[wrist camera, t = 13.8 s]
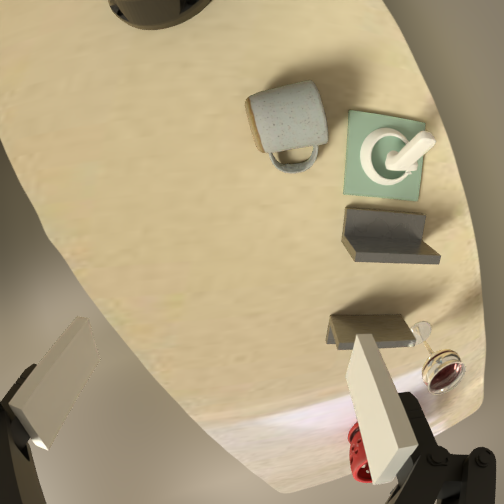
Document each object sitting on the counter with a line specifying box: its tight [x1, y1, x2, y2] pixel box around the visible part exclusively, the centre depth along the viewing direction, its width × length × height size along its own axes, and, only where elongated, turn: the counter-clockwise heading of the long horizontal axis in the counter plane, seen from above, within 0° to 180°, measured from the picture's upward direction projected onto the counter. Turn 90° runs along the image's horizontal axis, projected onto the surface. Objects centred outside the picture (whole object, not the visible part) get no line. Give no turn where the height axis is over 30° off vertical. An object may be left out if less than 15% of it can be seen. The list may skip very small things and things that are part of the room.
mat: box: [343, 110, 425, 201], centre depth 37 cm, size 11×11×1 cm
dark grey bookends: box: [326, 207, 441, 350], centre depth 41 cm, size 21×12×7 cm, turn 178°
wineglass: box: [410, 322, 466, 395], centre depth 42 cm, size 7×7×12 cm
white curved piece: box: [360, 128, 436, 185], centre depth 34 cm, size 8×12×7 cm
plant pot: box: [348, 422, 372, 483], centre depth 51 cm, size 13×13×12 cm
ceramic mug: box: [245, 80, 328, 173], centre depth 34 cm, size 11×8×8 cm
